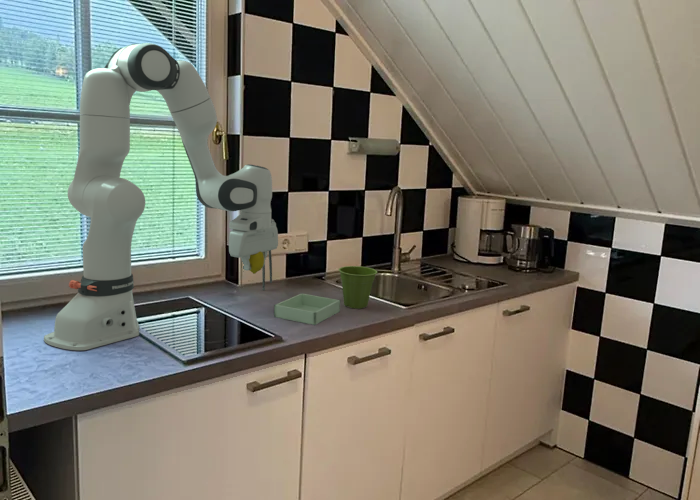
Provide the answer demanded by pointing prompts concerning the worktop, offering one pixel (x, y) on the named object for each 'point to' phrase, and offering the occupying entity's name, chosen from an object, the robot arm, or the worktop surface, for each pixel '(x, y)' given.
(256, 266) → the lemon
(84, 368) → the worktop surface
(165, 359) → the worktop surface
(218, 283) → the worktop surface
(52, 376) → the worktop surface
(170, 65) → the robot arm
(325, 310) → the tray
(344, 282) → the plant pot
